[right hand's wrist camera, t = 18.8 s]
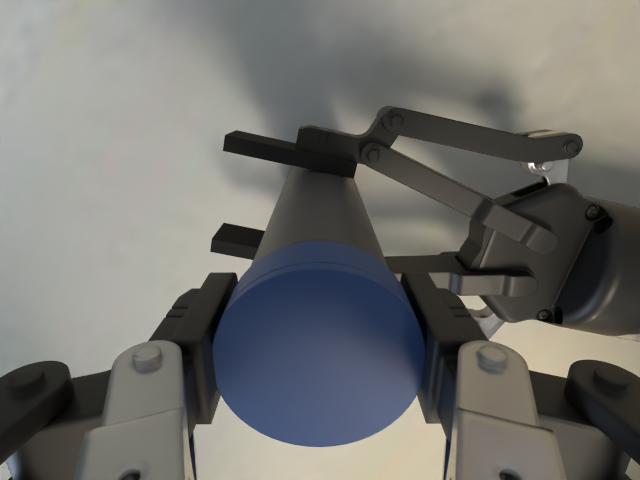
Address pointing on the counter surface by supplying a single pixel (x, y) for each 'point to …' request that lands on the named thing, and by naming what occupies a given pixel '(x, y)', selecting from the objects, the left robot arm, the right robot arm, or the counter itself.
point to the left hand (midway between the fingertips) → (224, 190)
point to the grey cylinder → (319, 214)
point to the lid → (318, 346)
